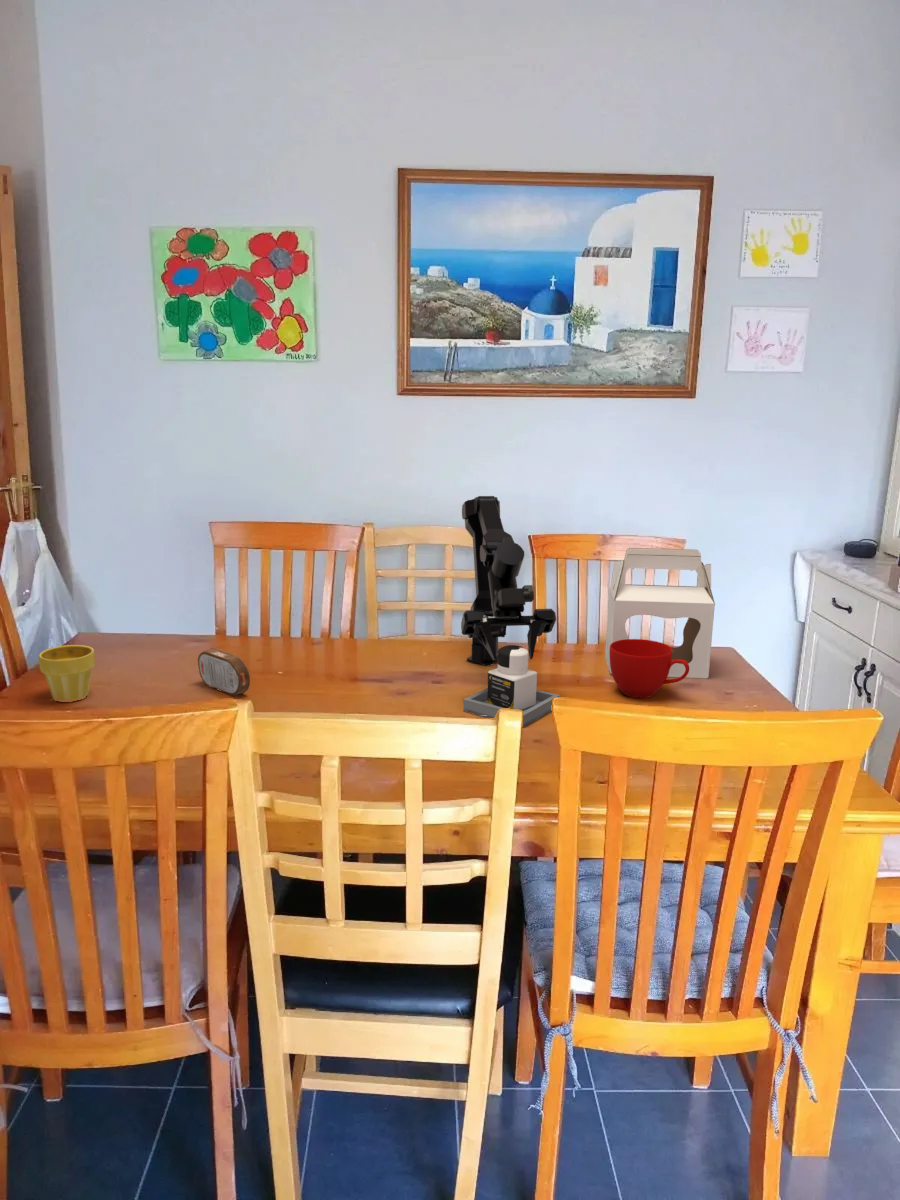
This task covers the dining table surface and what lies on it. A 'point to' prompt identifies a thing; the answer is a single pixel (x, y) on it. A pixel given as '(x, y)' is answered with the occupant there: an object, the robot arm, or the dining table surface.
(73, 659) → the plant pot
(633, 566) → the gable box
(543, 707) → the slate tray
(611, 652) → the ceramic cup
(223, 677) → the tin
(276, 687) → the dining table surface
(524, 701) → the medicine bottle
